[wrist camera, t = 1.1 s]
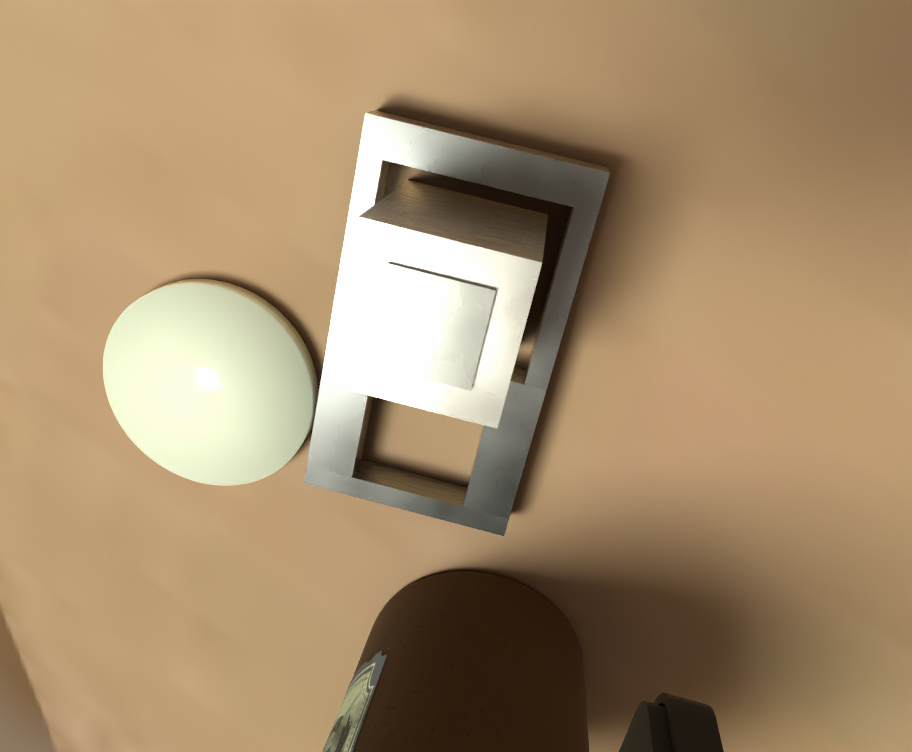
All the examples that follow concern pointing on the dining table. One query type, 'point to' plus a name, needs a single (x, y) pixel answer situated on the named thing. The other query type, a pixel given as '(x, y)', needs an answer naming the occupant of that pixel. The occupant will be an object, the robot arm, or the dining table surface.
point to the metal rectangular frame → (509, 444)
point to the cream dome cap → (210, 381)
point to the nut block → (438, 301)
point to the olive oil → (466, 673)
